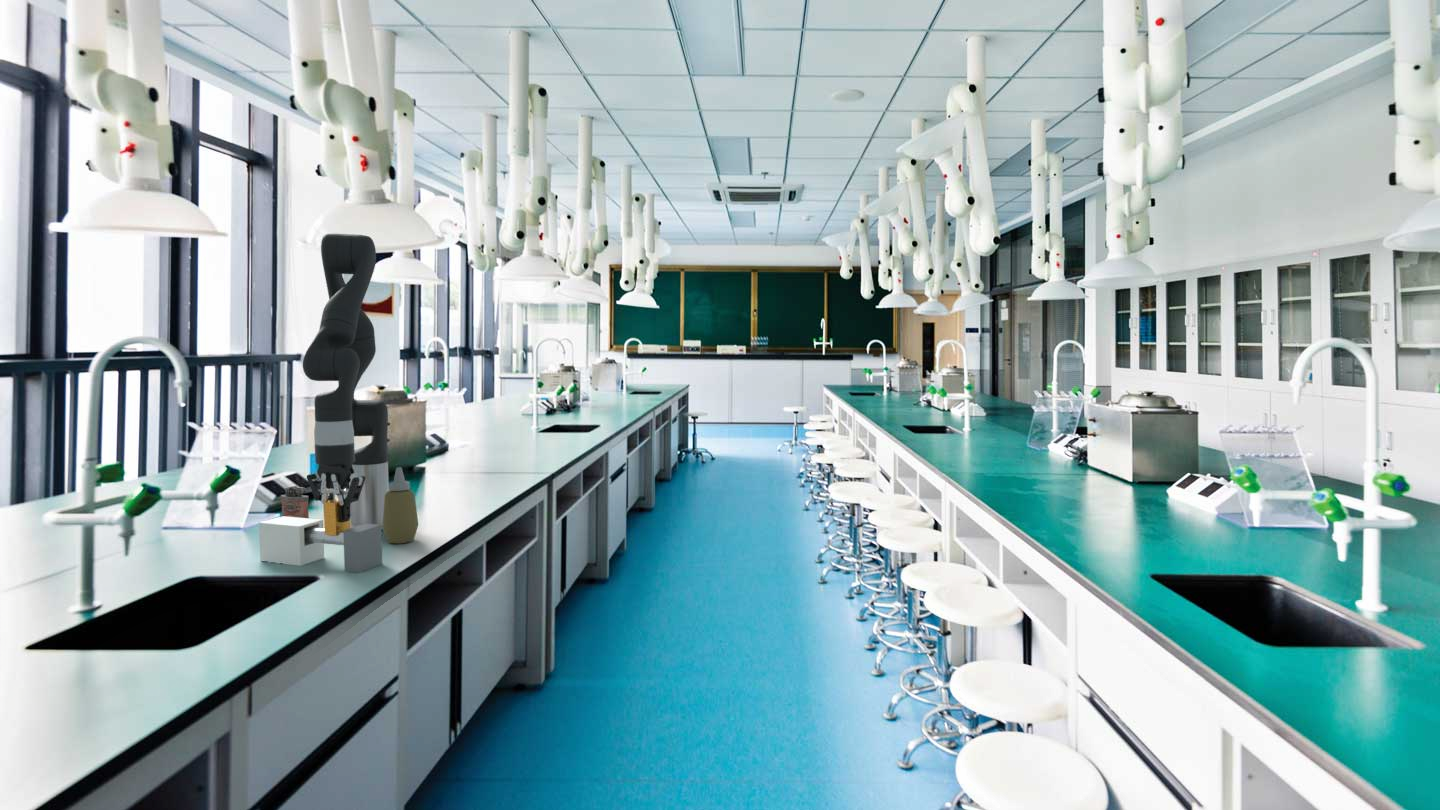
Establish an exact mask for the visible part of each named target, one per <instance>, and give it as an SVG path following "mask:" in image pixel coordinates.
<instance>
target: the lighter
mask: <svg viewBox="0 0 1440 810" xmlns="http://www.w3.org/2000/svg"><path fill="white" fill-rule="evenodd" d="M284 491H285V494H281V495H280V500H281V515H282V516H287V517H298V518H309V519H310V517H309V515H310V514H309V495H303V494H304V493H306V488H305V487H303V486H301V487H300V486H297V485H293V486H287V487H286V486H285V488H284ZM282 516H281V517H282Z"/></svg>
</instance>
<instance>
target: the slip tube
mask: <svg viewBox="0 0 1440 810" xmlns="http://www.w3.org/2000/svg"><path fill="white" fill-rule="evenodd" d="M347 529H350V519H349V521H347V522H344V523H342V522H339V502H338V498H335V499H334V500H330V501H326V502H324V505H323V528H315V527H305V528H304V542H314V543H324V545H325V544H326V545H333V546H334V545H335V546H344V534H343V531H344V530H347Z"/></svg>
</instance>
